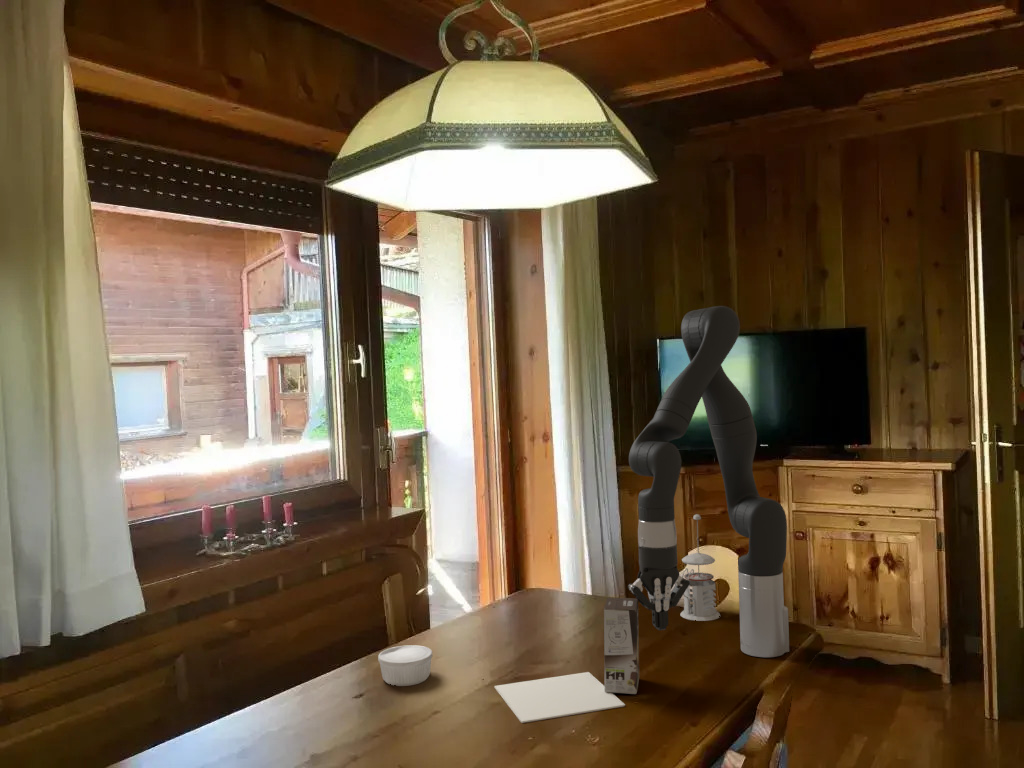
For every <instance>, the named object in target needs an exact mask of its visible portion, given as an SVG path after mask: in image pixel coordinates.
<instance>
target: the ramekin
mask: <svg viewBox="0 0 1024 768" xmlns="http://www.w3.org/2000/svg"><path fill="white" fill-rule="evenodd" d="M377 657H378V658H377V659H378V663H379V666H380V671H381V672H380V673H381V676H382V679H383V681H384V682H385V683H387V684H388V685H390V684H391V685H390V686H394V685H396V686H395V687H406V686H408V687H409V686H414V685H419V684H421V683H424V682H425V681H426V680H427V679H428V678H429V676H430V674H431V666H432V658H433V650H432V649H431V648H429V647H428V646H423V645H418V644H417V645H415V644H412V645H411V644H410V645H409V644H408V645H407V644H406V645H398V646H393V647H389V648H387V649H384V650H382V651H381V652H380V653H379V654H378V656H377Z"/></svg>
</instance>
